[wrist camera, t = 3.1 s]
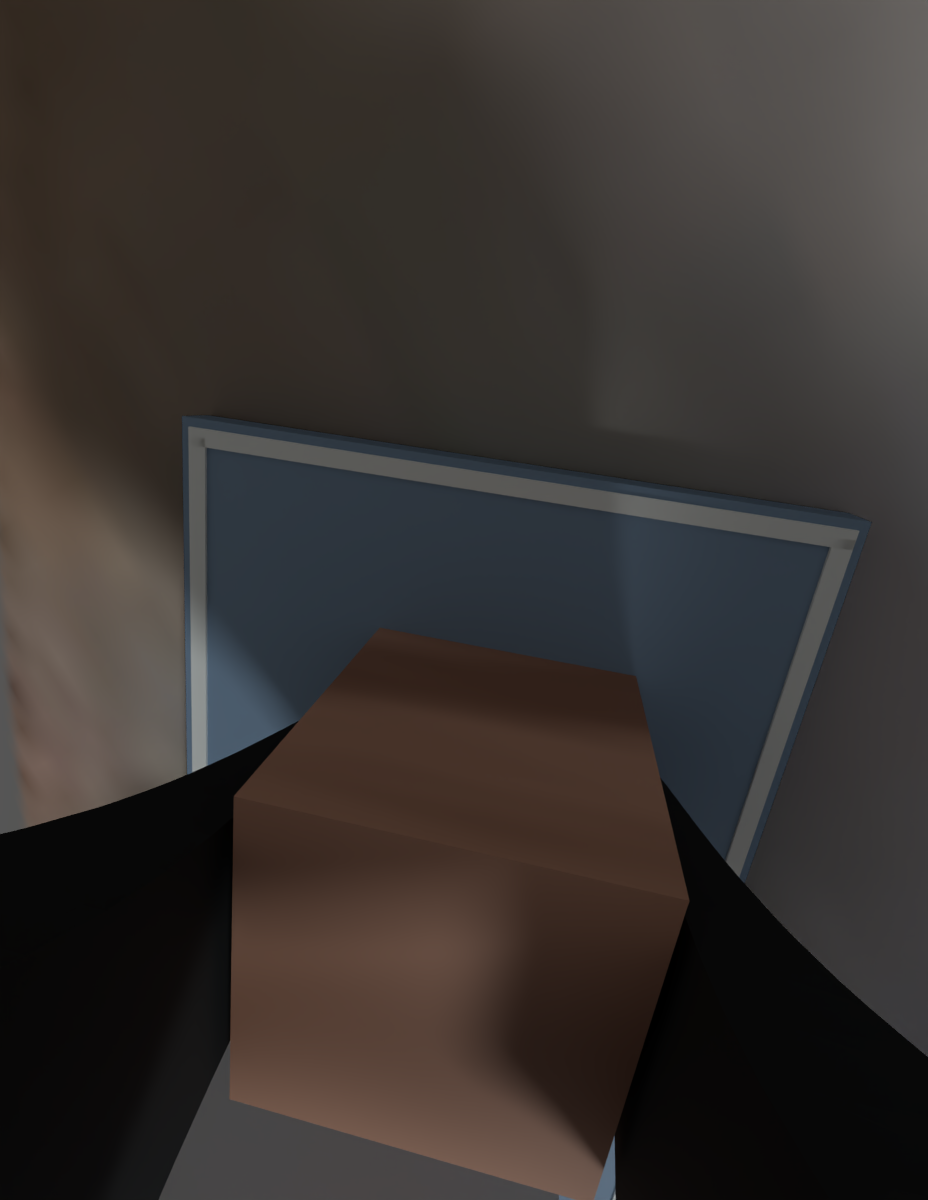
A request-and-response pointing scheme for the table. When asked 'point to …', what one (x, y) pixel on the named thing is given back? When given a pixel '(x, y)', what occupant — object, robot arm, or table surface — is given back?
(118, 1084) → the robot arm
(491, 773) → the terracotta block
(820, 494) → the table surface
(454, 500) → the board
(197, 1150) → the socket pedestal
